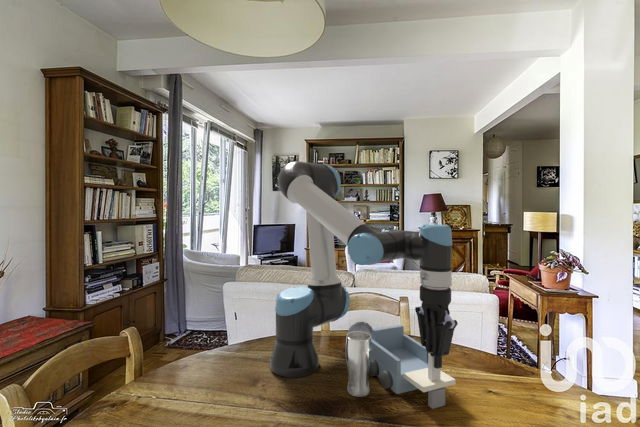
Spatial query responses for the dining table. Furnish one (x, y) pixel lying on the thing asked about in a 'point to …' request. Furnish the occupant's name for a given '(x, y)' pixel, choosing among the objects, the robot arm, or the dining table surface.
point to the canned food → (361, 328)
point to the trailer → (399, 361)
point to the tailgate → (428, 380)
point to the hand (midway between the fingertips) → (434, 378)
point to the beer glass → (358, 362)
